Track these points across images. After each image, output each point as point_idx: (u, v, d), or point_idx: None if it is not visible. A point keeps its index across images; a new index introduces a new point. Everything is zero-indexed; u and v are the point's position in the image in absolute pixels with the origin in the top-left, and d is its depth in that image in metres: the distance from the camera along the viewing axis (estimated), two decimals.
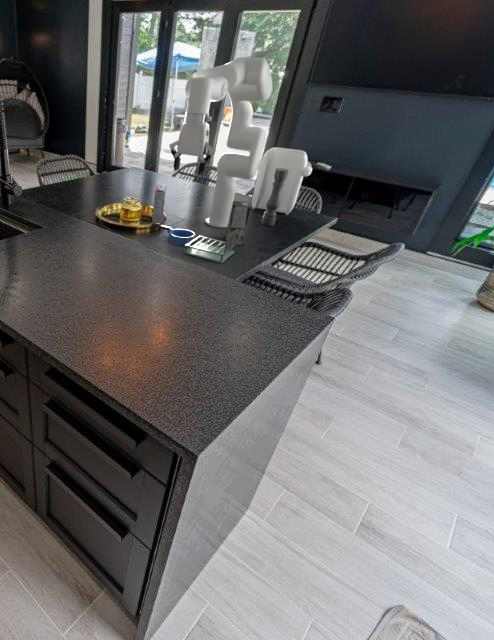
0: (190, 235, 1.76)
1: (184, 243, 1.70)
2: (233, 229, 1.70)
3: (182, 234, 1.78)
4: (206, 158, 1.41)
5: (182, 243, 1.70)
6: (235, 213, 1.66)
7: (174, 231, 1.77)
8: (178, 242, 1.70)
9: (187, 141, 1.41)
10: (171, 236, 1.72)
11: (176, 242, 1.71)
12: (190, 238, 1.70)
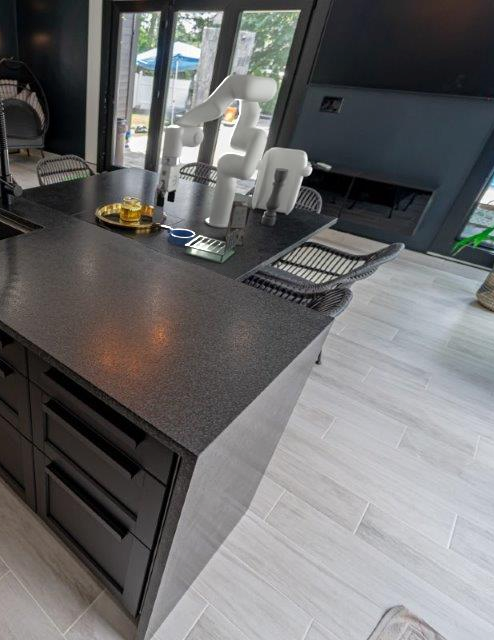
0: (190, 235, 1.76)
1: (184, 243, 1.70)
2: (233, 229, 1.70)
3: (182, 234, 1.78)
4: None
5: (182, 243, 1.70)
6: (235, 213, 1.66)
7: (174, 231, 1.77)
8: (178, 242, 1.70)
9: None
10: (171, 236, 1.72)
11: (176, 242, 1.71)
12: (190, 238, 1.70)
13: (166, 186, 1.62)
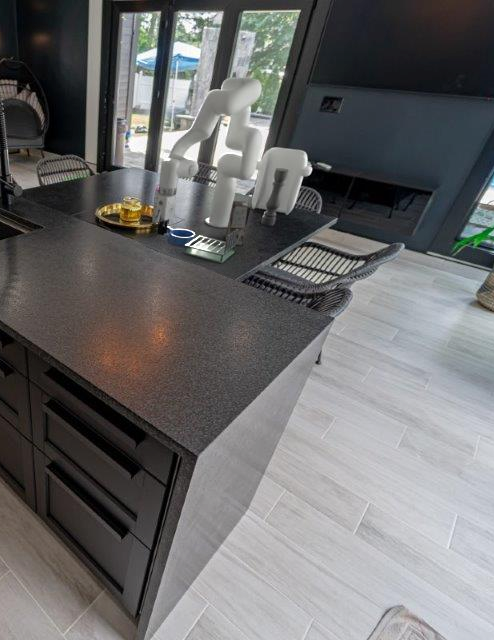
0: (190, 235, 1.76)
1: (184, 243, 1.70)
2: (233, 229, 1.70)
3: (182, 234, 1.78)
4: None
5: (182, 243, 1.70)
6: (235, 213, 1.66)
7: (174, 231, 1.77)
8: (178, 242, 1.70)
9: None
10: (171, 236, 1.72)
11: (176, 242, 1.71)
12: (190, 238, 1.70)
13: (163, 215, 1.69)
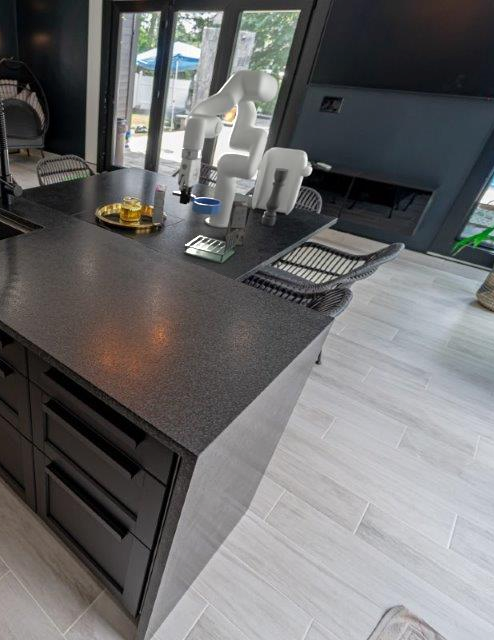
0: (215, 204, 1.60)
1: (209, 212, 1.54)
2: (233, 229, 1.70)
3: (206, 203, 1.62)
4: None
5: (207, 212, 1.54)
6: (235, 213, 1.66)
7: (198, 200, 1.61)
8: (203, 211, 1.54)
9: None
10: (195, 204, 1.56)
11: (200, 211, 1.55)
12: (216, 206, 1.53)
13: (186, 181, 1.53)
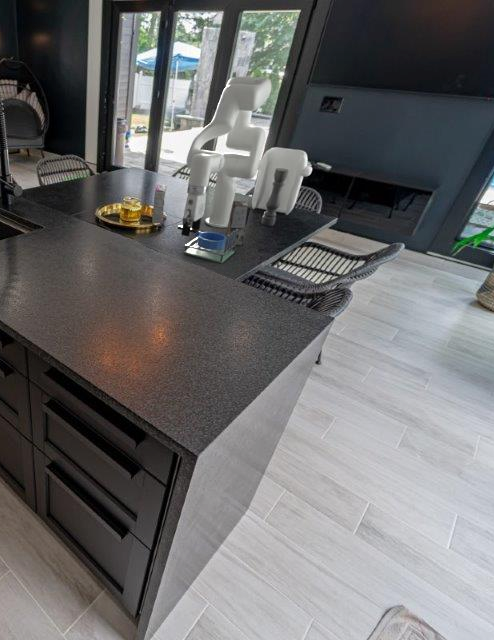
0: (220, 238, 1.63)
1: (215, 247, 1.58)
2: (233, 229, 1.70)
3: (211, 237, 1.66)
4: None
5: (212, 247, 1.58)
6: (235, 213, 1.66)
7: (203, 234, 1.64)
8: (208, 246, 1.58)
9: None
10: (200, 240, 1.59)
11: (206, 246, 1.58)
12: (221, 242, 1.57)
13: (192, 215, 1.56)
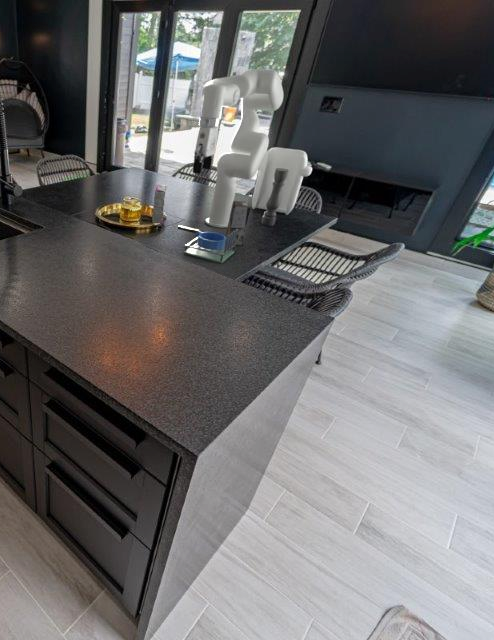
0: (220, 238, 1.63)
1: (215, 247, 1.58)
2: (233, 229, 1.70)
3: (211, 237, 1.66)
4: None
5: (212, 247, 1.58)
6: (235, 213, 1.66)
7: (203, 234, 1.64)
8: (208, 246, 1.58)
9: None
10: (200, 240, 1.59)
11: (206, 246, 1.58)
12: (221, 242, 1.57)
13: (204, 150, 1.52)
